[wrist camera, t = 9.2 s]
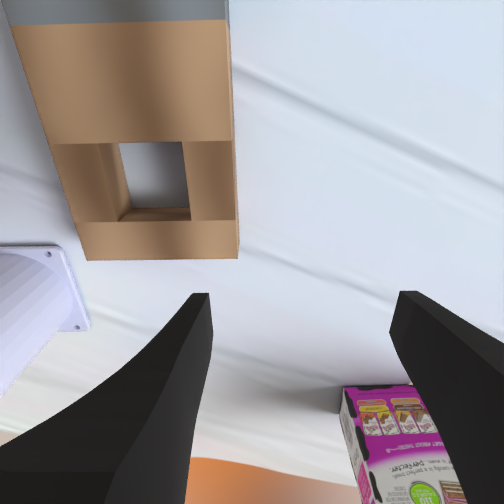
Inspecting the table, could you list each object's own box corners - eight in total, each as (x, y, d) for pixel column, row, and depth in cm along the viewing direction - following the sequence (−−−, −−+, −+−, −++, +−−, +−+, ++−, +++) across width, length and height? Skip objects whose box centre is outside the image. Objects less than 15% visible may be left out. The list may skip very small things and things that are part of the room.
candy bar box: (337, 416, 31) (408, 697, 17) (341, 384, 29) (428, 680, 14) (445, 414, 31) (616, 699, 16) (458, 381, 28) (672, 681, 14)
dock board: (104, 243, 22) (86, 260, 19) (-43, -268, 11) (-116, -356, 9) (239, 242, 21) (237, 258, 19) (215, -281, 11) (205, -374, 9)
